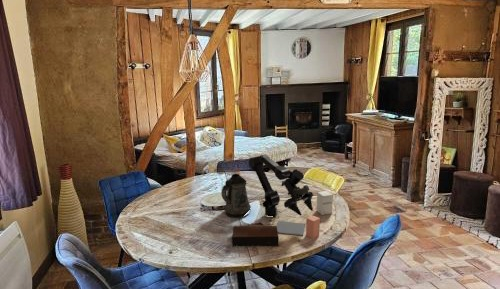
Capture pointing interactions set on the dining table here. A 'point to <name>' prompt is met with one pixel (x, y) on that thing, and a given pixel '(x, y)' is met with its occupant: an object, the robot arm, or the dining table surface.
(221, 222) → the dining table surface
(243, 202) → the beer stein
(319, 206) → the supplement box
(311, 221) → the brick-red block
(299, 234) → the rubber mat
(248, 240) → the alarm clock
